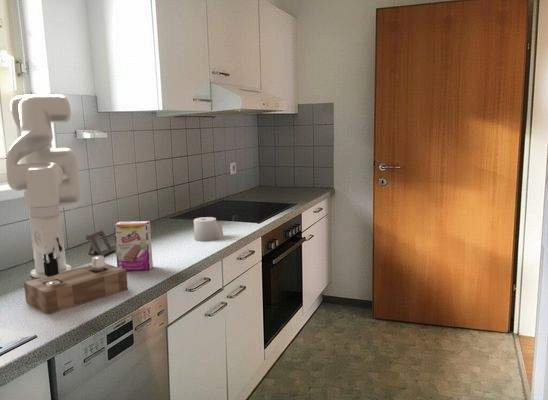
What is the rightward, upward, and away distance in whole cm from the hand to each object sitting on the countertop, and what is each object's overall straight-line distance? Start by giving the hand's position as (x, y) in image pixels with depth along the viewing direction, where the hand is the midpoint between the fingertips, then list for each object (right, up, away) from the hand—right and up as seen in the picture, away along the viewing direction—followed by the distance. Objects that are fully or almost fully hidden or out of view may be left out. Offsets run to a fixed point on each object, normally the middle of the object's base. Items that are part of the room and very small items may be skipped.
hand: (51, 274), depth 136 cm
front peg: (+1, -8, +1) cm, 8 cm away
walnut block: (+5, -7, +6) cm, 10 cm away
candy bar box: (+15, -3, +30) cm, 34 cm away
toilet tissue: (+35, +4, +71) cm, 79 cm away
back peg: (+10, -2, +10) cm, 14 cm away
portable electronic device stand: (-5, 0, +51) cm, 52 cm away
